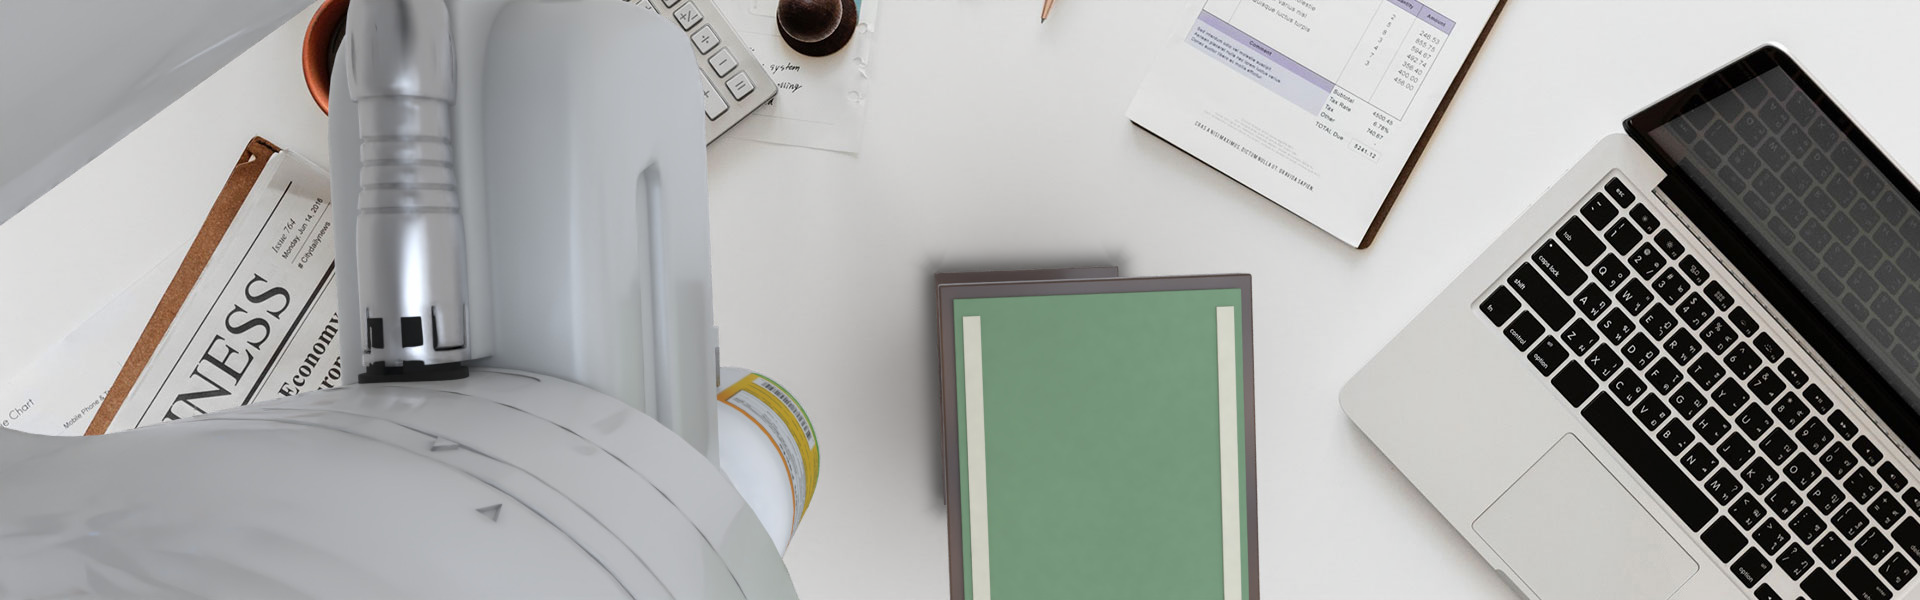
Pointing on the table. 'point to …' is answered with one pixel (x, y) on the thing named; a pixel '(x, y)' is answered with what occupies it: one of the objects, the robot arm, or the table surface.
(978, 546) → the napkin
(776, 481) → the supplement bottle
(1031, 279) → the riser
